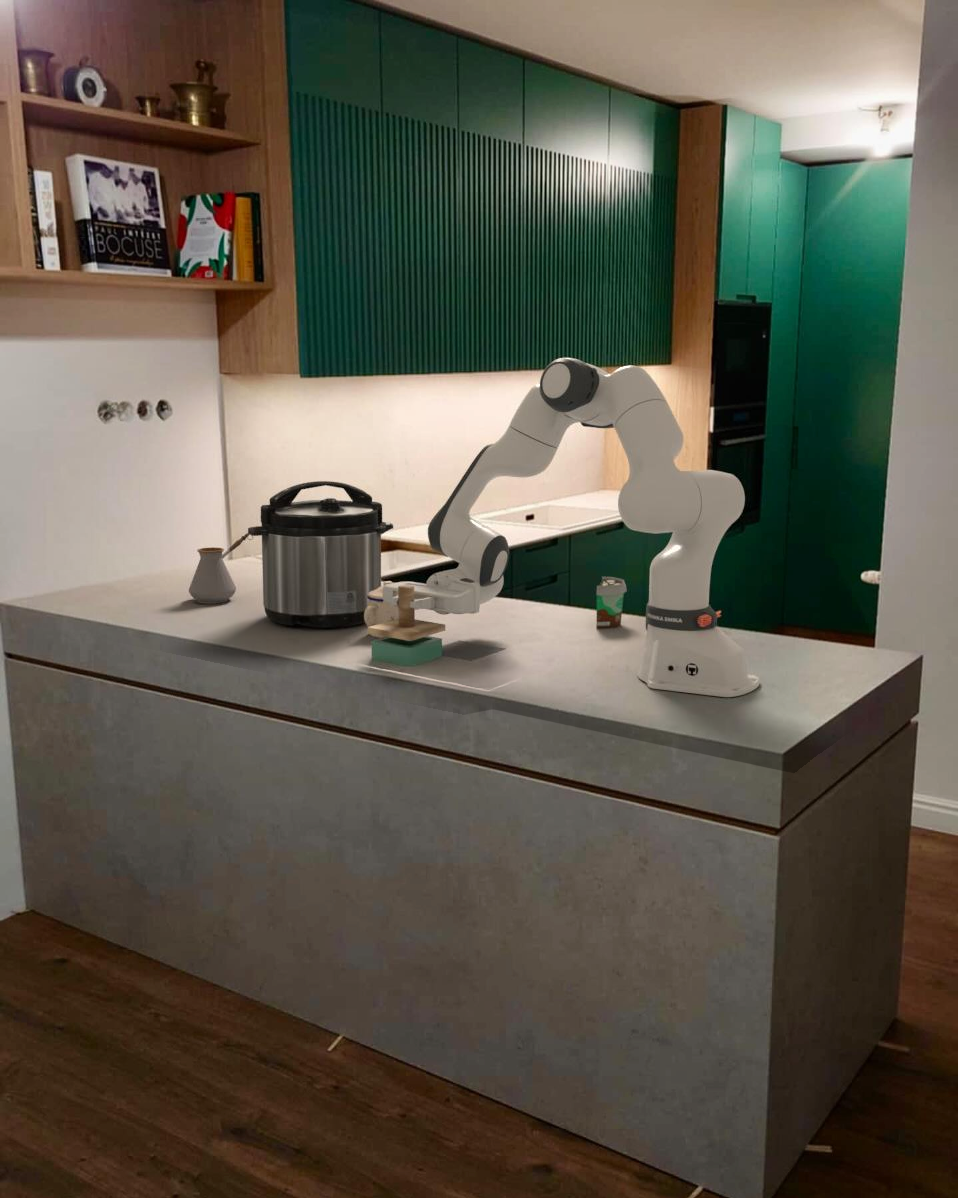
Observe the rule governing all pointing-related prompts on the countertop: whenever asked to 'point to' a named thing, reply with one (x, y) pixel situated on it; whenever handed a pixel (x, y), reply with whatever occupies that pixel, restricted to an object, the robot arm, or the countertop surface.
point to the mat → (468, 650)
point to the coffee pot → (213, 576)
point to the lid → (406, 620)
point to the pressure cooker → (320, 556)
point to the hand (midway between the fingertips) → (403, 603)
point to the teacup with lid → (379, 609)
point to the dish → (406, 650)
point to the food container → (610, 602)
